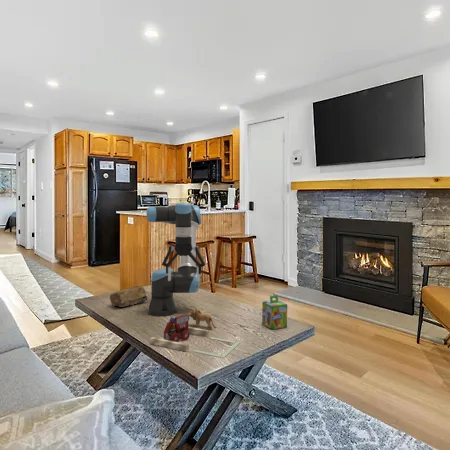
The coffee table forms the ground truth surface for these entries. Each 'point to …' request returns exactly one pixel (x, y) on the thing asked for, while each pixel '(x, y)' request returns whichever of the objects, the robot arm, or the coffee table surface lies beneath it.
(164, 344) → the lane walls
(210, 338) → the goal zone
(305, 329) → the coffee table surface
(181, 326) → the toy fire truck
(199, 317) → the lion figurine
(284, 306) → the chalk box
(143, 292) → the petrified wood
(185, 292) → the robot arm
